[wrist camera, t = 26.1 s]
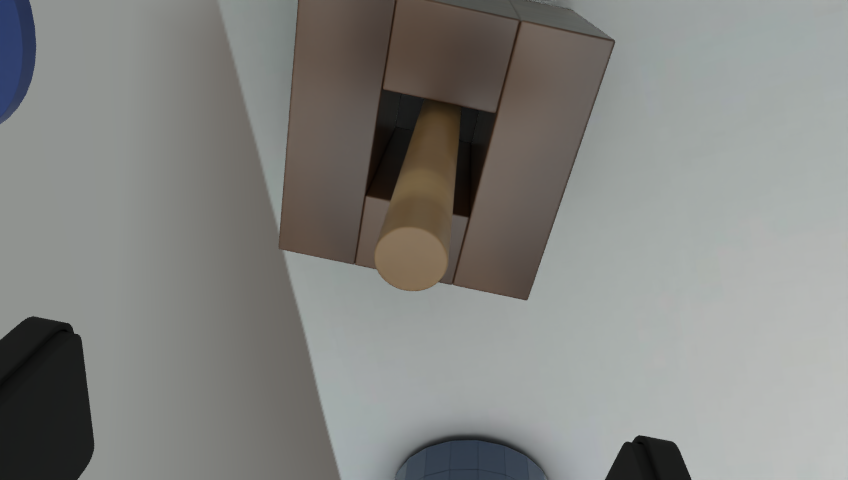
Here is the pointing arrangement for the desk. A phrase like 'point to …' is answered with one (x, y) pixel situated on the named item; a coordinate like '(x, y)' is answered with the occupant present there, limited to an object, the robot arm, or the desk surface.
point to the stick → (422, 203)
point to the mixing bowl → (469, 463)
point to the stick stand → (449, 83)
